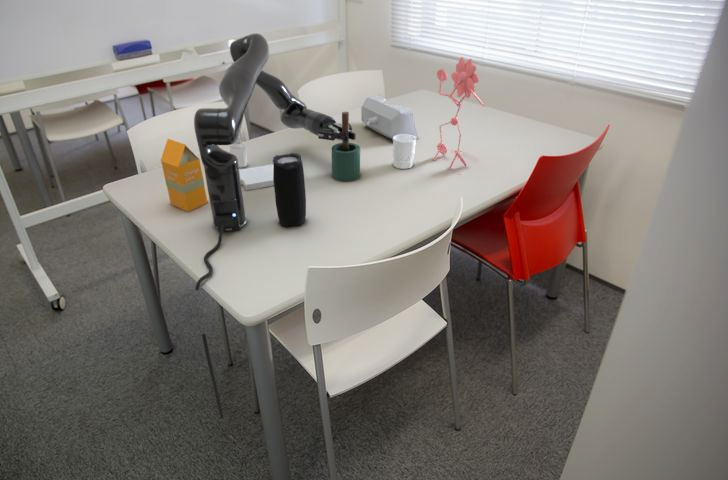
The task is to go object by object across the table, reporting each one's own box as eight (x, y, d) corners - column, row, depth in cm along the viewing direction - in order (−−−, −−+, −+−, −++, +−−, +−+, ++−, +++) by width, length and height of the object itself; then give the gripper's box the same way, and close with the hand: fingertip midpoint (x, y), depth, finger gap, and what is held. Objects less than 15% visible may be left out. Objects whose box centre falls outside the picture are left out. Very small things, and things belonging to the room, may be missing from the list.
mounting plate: (281, 168, 181) (280, 162, 179) (291, 182, 170) (291, 176, 169) (230, 176, 175) (230, 171, 174) (239, 191, 165) (238, 186, 164)
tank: (351, 128, 213) (351, 98, 206) (383, 122, 220) (384, 92, 213) (385, 147, 195) (386, 114, 188) (418, 139, 202) (420, 107, 195)
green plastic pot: (361, 180, 170) (361, 152, 165) (333, 182, 170) (332, 153, 164) (357, 169, 178) (358, 141, 173) (331, 170, 178) (330, 143, 172)
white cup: (388, 167, 179) (389, 140, 173) (396, 159, 185) (398, 132, 179) (409, 171, 176) (411, 143, 170) (417, 163, 182) (419, 136, 176)
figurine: (462, 178, 170) (476, 69, 150) (419, 153, 189) (426, 53, 170) (498, 169, 175) (516, 63, 156) (453, 145, 195) (464, 48, 175)
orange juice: (190, 195, 164) (178, 134, 153) (208, 202, 159) (196, 140, 148) (170, 204, 159) (156, 142, 148) (187, 212, 154) (174, 149, 143)
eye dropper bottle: (237, 169, 180) (233, 136, 173) (230, 164, 184) (226, 132, 177) (248, 166, 182) (244, 133, 176) (241, 161, 186) (237, 129, 179)
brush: (351, 167, 170) (351, 114, 160) (341, 168, 170) (340, 114, 160) (350, 163, 173) (350, 110, 163) (339, 164, 173) (339, 111, 163)
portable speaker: (302, 212, 153) (298, 149, 142) (310, 226, 145) (307, 162, 134) (274, 216, 151) (268, 153, 140) (281, 231, 143) (275, 166, 132)
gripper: (302, 118, 170) (334, 131, 158) (335, 109, 177) (368, 122, 165) (304, 139, 174) (334, 154, 163) (336, 130, 181) (367, 144, 169)
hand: (351, 137), depth 164 cm, fingers closed on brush, 2 cm apart
